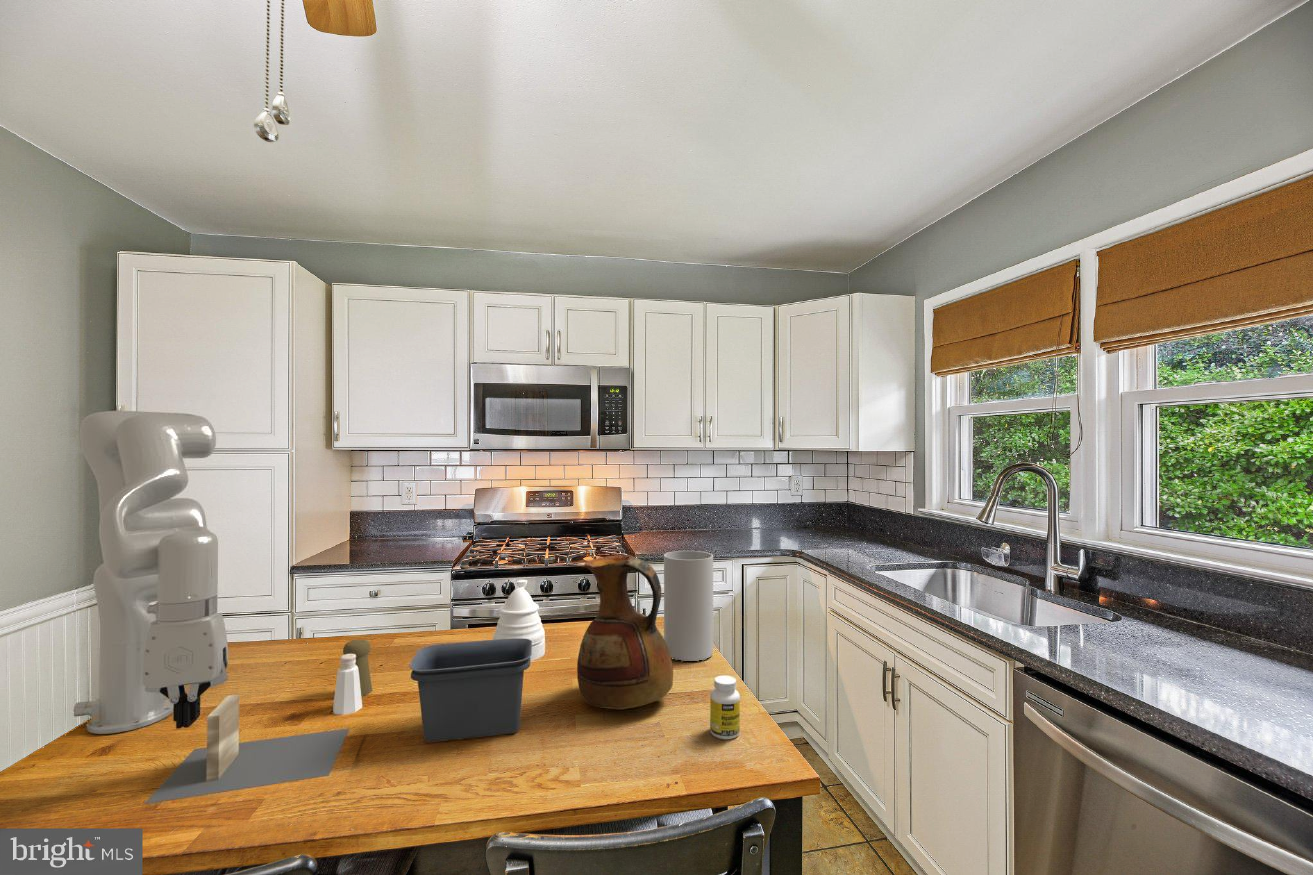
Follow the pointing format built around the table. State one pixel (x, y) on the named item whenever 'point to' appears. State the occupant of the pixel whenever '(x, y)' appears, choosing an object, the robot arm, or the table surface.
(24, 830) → the table surface
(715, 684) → the supplement bottle
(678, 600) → the cylinder vase
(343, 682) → the salt shaker
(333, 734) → the rubber mat
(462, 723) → the storage bin
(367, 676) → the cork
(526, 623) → the honey pot
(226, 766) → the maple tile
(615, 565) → the ceramic pitcher
